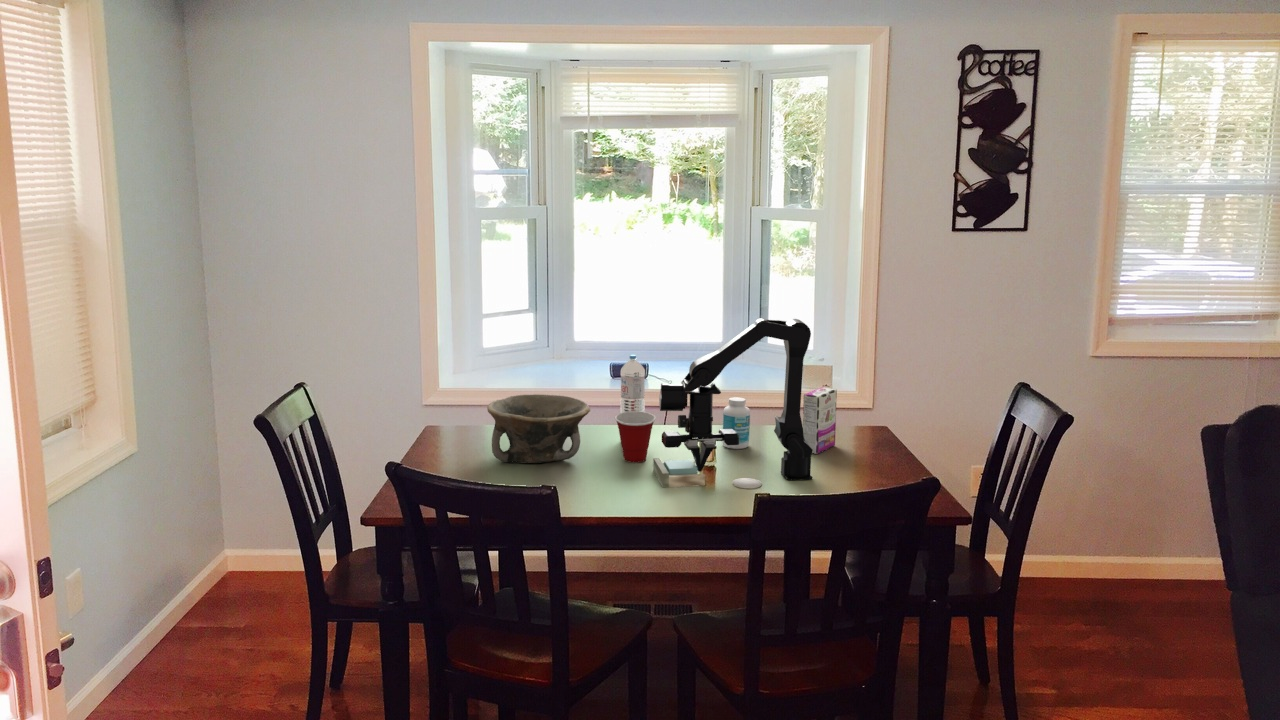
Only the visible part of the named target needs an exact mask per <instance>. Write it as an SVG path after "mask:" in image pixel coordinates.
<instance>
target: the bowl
mask: <svg viewBox="0 0 1280 720" xmlns="http://www.w3.org/2000/svg"><path fill="white" fill-rule="evenodd" d="M486 408H487V412H488V414H490V416H491V417H492V418H493V419H494V420H493V421H494V427H493V432H492V436H491V452H492V454H493V456H494V457H495V459H497V460H499V461H500V462H503V463H517V464H518V463H519V464H541V463H549V462H561V461H566V460H570V459H571V458H573V457H574V456H575V455H576V454H577V453H578V451H579V449H580V446H581V435H580V430H579V423H581V421H582V420H583V419H584V417H586V416H587V415H588V414H589V413H590V412H591V408H590V406H589V405H588V404H587V402H585V401H583V400H581V399H578V398H575V397H571V396H567V395H560V394H559V395H557V394H556V395H555V394H541V393H540V394H539V393H537V394H535V393H534V394H517V395H511V396H508V397H505V398H501V399H496V400H493V401H491V402H490V403H489V404H488V406H487V407H486ZM503 434H505V435H506V437H507V440H508V442H509V448H508V449H507V450H505V451H503V450H502V448H501V445H500V442H501V437H502V436H503ZM568 437H569V438H570V441H571V445H570V446H571V447H570V448H569V449H568V450H565V449H564V445H565V442H566V440H567V439H568Z"/></svg>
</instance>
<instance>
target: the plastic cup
mask: <svg viewBox="0 0 1280 720" xmlns="http://www.w3.org/2000/svg"><path fill="white" fill-rule="evenodd" d="M656 418H657V417H656V415H655V414H652V413H650V412H647V411H645V412H642V411H628V412H623V413H621V412H620V413H618V414H616V415H615V416H614V419H615V421H616V423H617V424H616V425H617V428H618V434H619V437H620V438H619V439H620V445H621V449H622V456H623V458H624V459H623V460H624V461H625V462H628V463H634V464H635V463H644V462H645V461H646V459H647V456H648V452H649V451H648V449H649V447H650V440H651V434H652V429H653V425H654V422H655V421H656Z"/></svg>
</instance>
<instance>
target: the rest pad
mask: <svg viewBox="0 0 1280 720" xmlns="http://www.w3.org/2000/svg"><path fill="white" fill-rule="evenodd" d="M732 485H733V486H734V487H736V488H739V489H747V490H749V489H750V490H751V489H752V490H753V489H757V488H759V487H761V486H762V482H761V480H758V479H757V478H750V477H749V478H748V477H741V478H736V479H734V480H732Z"/></svg>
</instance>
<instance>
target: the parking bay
mask: <svg viewBox="0 0 1280 720" xmlns="http://www.w3.org/2000/svg"><path fill="white" fill-rule="evenodd" d="M652 460H653V463H652V467H653V468H652V471H653V473H654V475H655V477H656V478H657V480H658V481H659V483H660V485H661V487H662V488H675V487H680V488H681V487H698V486H699V487H700V486H706V475H705V473H697V474H686V475H669V472H668V471H667V469H666V468H665V466H664V461H665V460H664V461H662V459H661V458H660V457H653V458H652ZM691 460H692V461H693V462H694V464H695V465H696V463H695V460H694V459H691Z"/></svg>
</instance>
